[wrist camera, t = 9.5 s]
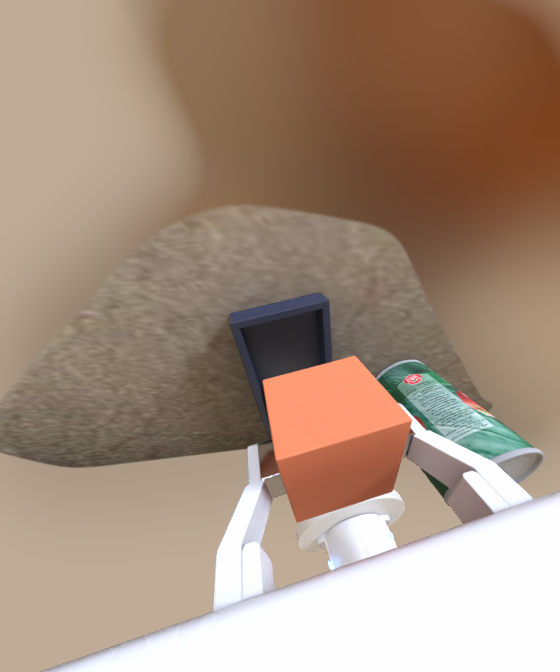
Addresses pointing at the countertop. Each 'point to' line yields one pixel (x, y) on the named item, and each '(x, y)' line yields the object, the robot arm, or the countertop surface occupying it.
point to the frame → (282, 340)
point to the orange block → (334, 436)
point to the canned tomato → (458, 420)
